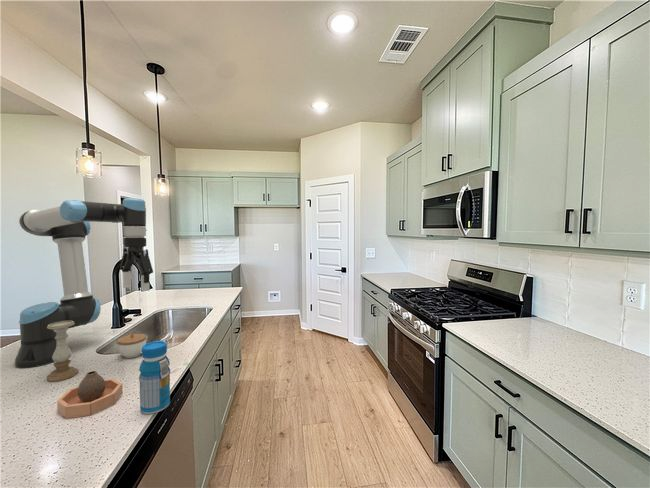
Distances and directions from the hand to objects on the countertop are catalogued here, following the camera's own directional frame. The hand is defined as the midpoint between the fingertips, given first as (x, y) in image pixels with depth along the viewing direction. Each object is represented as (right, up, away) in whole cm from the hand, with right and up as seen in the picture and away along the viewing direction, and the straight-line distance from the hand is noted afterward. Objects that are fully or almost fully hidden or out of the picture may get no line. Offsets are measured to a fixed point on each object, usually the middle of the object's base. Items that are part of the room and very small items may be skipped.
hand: (136, 289), depth 115 cm
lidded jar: (-9, -31, +11) cm, 34 cm away
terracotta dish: (+2, -33, -24) cm, 41 cm away
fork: (+16, -33, -5) cm, 37 cm away
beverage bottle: (+23, -33, -26) cm, 48 cm away
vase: (+2, -32, -24) cm, 40 cm away
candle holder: (-23, -32, -8) cm, 40 cm away
